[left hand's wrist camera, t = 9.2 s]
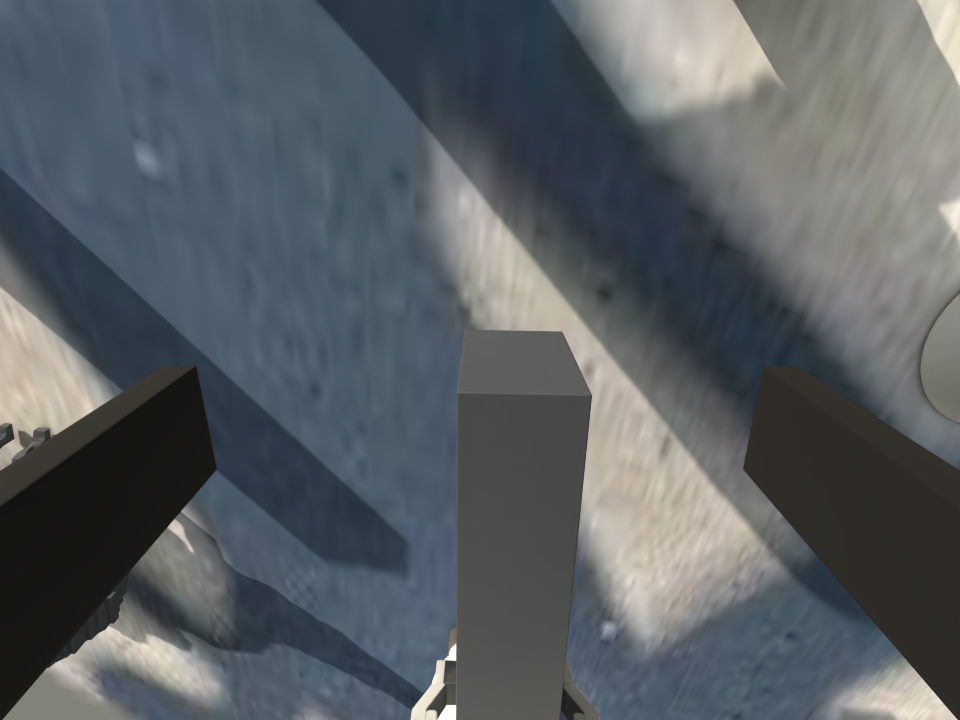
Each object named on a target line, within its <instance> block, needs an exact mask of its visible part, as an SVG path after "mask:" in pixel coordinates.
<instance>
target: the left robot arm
mask: <svg viewBox="0 0 960 720" xmlns="http://www.w3.org/2000/svg"><path fill="white" fill-rule="evenodd" d="M216 470H217V468H216V463H215V458H214V453H213V448H212V443H211V438H210V433H209V428H208V423H207V418H206V413H205V408H204V403H203V398H202V393H201V388H200V383H199V378H198V373H197V368H196V366H162V367H161V368H159V369H158V370H156V371H155V372H153V373H152V374H150V375H148V376H147V377H145V378H144V379H142V380H141V381H139V382H138V383H136V384H134V385H133V386H131V387H130V388H128V389H127V390H125V391H124V392H122V393H120V394H119V395H117V396H116V397H114V398H113V399H111V400H110V401H108V402H107V403H105V404H103V405H102V406H100V407H99V408H97V409H96V410H94V411H93V412H91V413H89V414H88V415H86V416H85V417H83V418H82V419H80V420H79V421H77V422H75V423H74V424H72V425H71V426H69V427H68V428H66V429H65V430H63V431H61V432H60V433H58V434H57V435H55V436H54V437H52V438H51V439H49V440H48V441H46V442H44V443H43V444H41V445H40V446H38V447H37V448H35V449H34V450H32V451H30V452H29V453H27V454H26V455H24V456H23V457H21V458H20V459H18V460H16V461H15V462H13V463H12V464H10V465H9V466H7V467H6V468H4V469H2V470H1V471H0V720H2V719H3V718H4V717H5V716H6V715H7V714H8V712H9V711H10V710H11V709H12V708H13V707H14V705H15V704H16V703H17V702H18V701H19V700H20V698H21V697H22V696H23V695H24V694H25V693H26V691H27V690H28V689H29V688H30V687H31V686H32V684H33V683H34V682H35V681H36V680H37V679H38V677H39V676H40V675H41V674H42V673H43V672H44V670H45V669H46V668H47V667H48V666H49V665H50V663H51V662H52V661H53V660H54V659H55V658H56V656H57V655H58V654H59V653H60V652H61V651H62V649H63V648H64V647H65V646H66V645H67V644H68V642H69V641H70V640H71V639H72V638H73V637H74V635H75V634H76V633H77V632H78V631H79V630H80V628H81V627H82V626H83V625H84V624H85V623H86V621H87V620H88V619H89V618H90V617H91V616H92V614H93V613H94V612H95V611H96V610H97V609H98V607H99V606H100V605H101V604H102V603H103V602H104V600H105V599H106V598H107V597H108V596H109V595H110V593H111V592H112V591H113V590H114V589H115V588H116V586H117V585H118V584H119V583H120V582H121V581H122V579H123V578H124V577H125V576H126V575H127V574H128V572H129V571H130V570H131V569H132V568H133V567H134V565H135V564H136V563H137V562H138V561H139V560H140V558H141V557H142V556H143V555H144V554H145V553H146V551H147V550H148V549H149V548H150V547H151V546H152V544H153V543H154V542H155V541H156V540H157V539H158V537H159V536H160V535H161V534H162V533H163V532H164V530H165V529H166V528H167V527H168V526H169V525H170V523H171V522H172V521H173V520H174V519H175V517H176V516H177V515H178V514H179V513H180V512H181V510H182V509H183V508H184V507H185V506H186V505H187V503H188V502H189V501H190V500H191V499H192V498H193V496H194V495H195V494H196V493H197V492H198V491H199V489H200V488H201V487H202V486H203V485H204V484H205V482H206V481H207V480H208V479H209V478H210V477H211V475H212V474H213V473H214V472H215V471H216ZM743 470H744V471H745V472H746V473H747V474H748V475H749V477H750V478H751V479H752V480H753V481H754V482H755V484H756V485H757V486H758V487H759V488H760V489H761V491H762V492H763V493H764V494H765V495H766V496H767V498H768V499H769V500H770V501H771V502H772V503H773V505H774V506H775V507H776V508H777V509H778V510H779V512H780V513H781V514H782V515H783V516H784V517H785V519H786V520H787V521H788V522H789V523H790V525H791V526H792V527H793V528H794V529H795V530H796V532H797V533H798V534H799V535H800V536H801V537H802V539H803V540H804V541H805V542H806V543H807V544H808V546H809V547H810V548H811V549H812V550H813V551H814V553H815V554H816V555H817V556H818V557H819V558H820V560H821V561H822V562H823V563H824V564H825V565H826V567H827V568H828V569H829V570H830V571H831V572H832V574H833V575H834V576H835V577H836V578H837V579H838V581H839V582H840V583H841V584H842V585H843V586H844V588H845V589H846V590H847V591H848V592H849V593H850V595H851V596H852V597H853V598H854V599H855V600H856V602H857V603H858V604H859V605H860V606H861V607H862V609H863V610H864V611H865V612H866V613H867V614H868V616H869V617H870V618H871V619H872V620H873V621H874V623H875V624H876V625H877V626H878V627H879V628H880V630H881V631H882V632H883V633H884V634H885V635H886V637H887V638H888V639H889V640H890V641H891V642H892V644H893V645H894V646H895V647H896V648H897V649H898V651H899V652H900V653H901V654H902V655H903V656H904V658H905V659H906V660H907V661H908V662H909V663H910V665H911V666H912V667H913V668H914V669H915V670H916V672H917V673H918V674H919V675H920V676H921V677H922V679H923V680H924V681H925V682H926V683H927V684H928V686H929V687H930V688H931V689H932V690H933V691H934V693H935V694H936V695H937V696H938V697H939V698H940V700H941V701H942V702H943V703H944V704H945V705H946V707H947V708H948V709H949V710H950V711H951V712H952V714H953V715H954V716H955V717H956V718H957V719H958V720H960V471H959V470H958V469H956V468H954V467H953V466H951V465H950V464H948V463H947V462H945V461H944V460H942V459H940V458H939V457H937V456H936V455H934V454H933V453H931V452H930V451H928V450H926V449H925V448H923V447H922V446H920V445H919V444H917V443H916V442H914V441H912V440H911V439H909V438H908V437H906V436H905V435H903V434H902V433H900V432H899V431H897V430H895V429H894V428H892V427H891V426H889V425H888V424H886V423H885V422H883V421H881V420H880V419H878V418H877V417H875V416H874V415H872V414H871V413H869V412H867V411H866V410H864V409H863V408H861V407H860V406H858V405H857V404H855V403H853V402H852V401H850V400H849V399H847V398H846V397H844V396H843V395H841V394H840V393H838V392H836V391H835V390H833V389H832V388H830V387H829V386H827V385H826V384H824V383H822V382H821V381H819V380H818V379H816V378H815V377H813V376H812V375H810V374H808V373H807V372H805V371H804V370H802V369H801V368H799V367H798V366H764V368H763V373H762V378H761V383H760V388H759V393H758V398H757V403H756V408H755V413H754V418H753V423H752V428H751V433H750V438H749V443H748V448H747V453H746V458H745V463H744V468H743Z"/></svg>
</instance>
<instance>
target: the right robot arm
mask: <svg viewBox="0 0 960 720" xmlns="http://www.w3.org/2000/svg"><path fill="white" fill-rule="evenodd" d="M920 374H921V382H922V386H923V390H924V392H925V394H926V396H927V398H928V400H929V402H930V403H931V404H932V406H933V407H934V408H935V409H936V410H937V411H938V412H940V413H941V414H942V415H944V416H945V417H947V418H949V419H951V420H953V421H956V422H958V423H960V294H958V295H957V296H956V297H955V298H954V299H953V300H952V301H951V302H950V304H949V305H948V306H947V307H946V308H945V309H944V311H943V312H942V313H941V315H940V316H939V317H938V319H937V321H936V322H935V324H934V325H933V327H932V329H931V331H930V333H929V335H928V337H927V340H926V342H925V345H924V349H923V353H922V357H921V366H920ZM446 705H456V661H451V660H437V666H436V676H435V683H433V684H432V685H431V686H430V687H429V689H428V690H427V691H426V692H425V694H424V695H423V696H422V697H421V699H420V700H419V701H418V702H417V704H416V705H415V706H414V707H413V709H412V715H411V720H437V719H438V718H439V716H440V715H441V713H442V712H443V710H444V709H445V707H446ZM561 711H562V712H563V713H564V715H565V716H566V718H567V719H568V720H599V716H598V712H597V711H596V710H595V709H594V708H593V707H592V705H591V704H590V703H589V702H588V701H587V700H586V698H585V697H584V696H583V695H582V694H581V692H580V691H579V690H578V689H577V688H576V687H575V686H573V683H572V677H571V671H570V665H569V663H565V671H564V681H563V691H562V701H561Z"/></svg>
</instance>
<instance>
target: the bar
mask: <svg viewBox="0 0 960 720" xmlns="http://www.w3.org/2000/svg"><path fill="white" fill-rule="evenodd" d="M591 399H592V395H591V392H590V390H589V388H588V386H587V384H586V382H585V380H584V377H583V375H582V373H581V371H580V369H579V367H578V365H577V362H576V360H575V358H574V356H573V354H572V352H571V350H570V347H569V345H568V343H567V341H566V339H565V337H564V335H563V332H551V331H498V330H464V337H463V345H462V353H461V362H460V370H459V379H458V387H457V501H456V720H560V711H561V701H562V691H563V681H564V671H565V661H566V651H567V641H568V631H569V621H570V611H571V601H572V591H573V581H574V571H575V560H576V550H577V540H578V530H579V520H580V510H581V500H582V490H583V480H584V470H585V460H586V450H587V440H588V430H589V420H590V410H591Z"/></svg>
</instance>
